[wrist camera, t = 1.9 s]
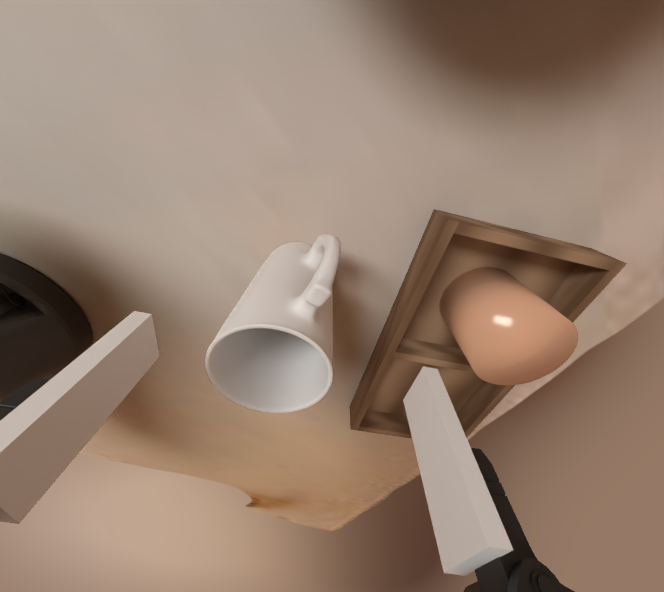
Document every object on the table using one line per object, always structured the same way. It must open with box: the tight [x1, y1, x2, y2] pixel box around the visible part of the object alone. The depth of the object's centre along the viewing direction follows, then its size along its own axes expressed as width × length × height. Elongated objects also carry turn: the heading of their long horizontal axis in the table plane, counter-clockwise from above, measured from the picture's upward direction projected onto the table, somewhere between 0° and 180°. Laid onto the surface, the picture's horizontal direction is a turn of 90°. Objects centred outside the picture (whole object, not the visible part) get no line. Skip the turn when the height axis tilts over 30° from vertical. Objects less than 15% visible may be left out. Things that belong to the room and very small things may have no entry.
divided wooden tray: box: [350, 209, 627, 438], centre depth 27 cm, size 15×26×3 cm, turn 167°
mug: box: [205, 234, 341, 413], centre depth 18 cm, size 10×7×12 cm, turn 147°
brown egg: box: [439, 267, 578, 385], centre depth 21 cm, size 7×7×7 cm
